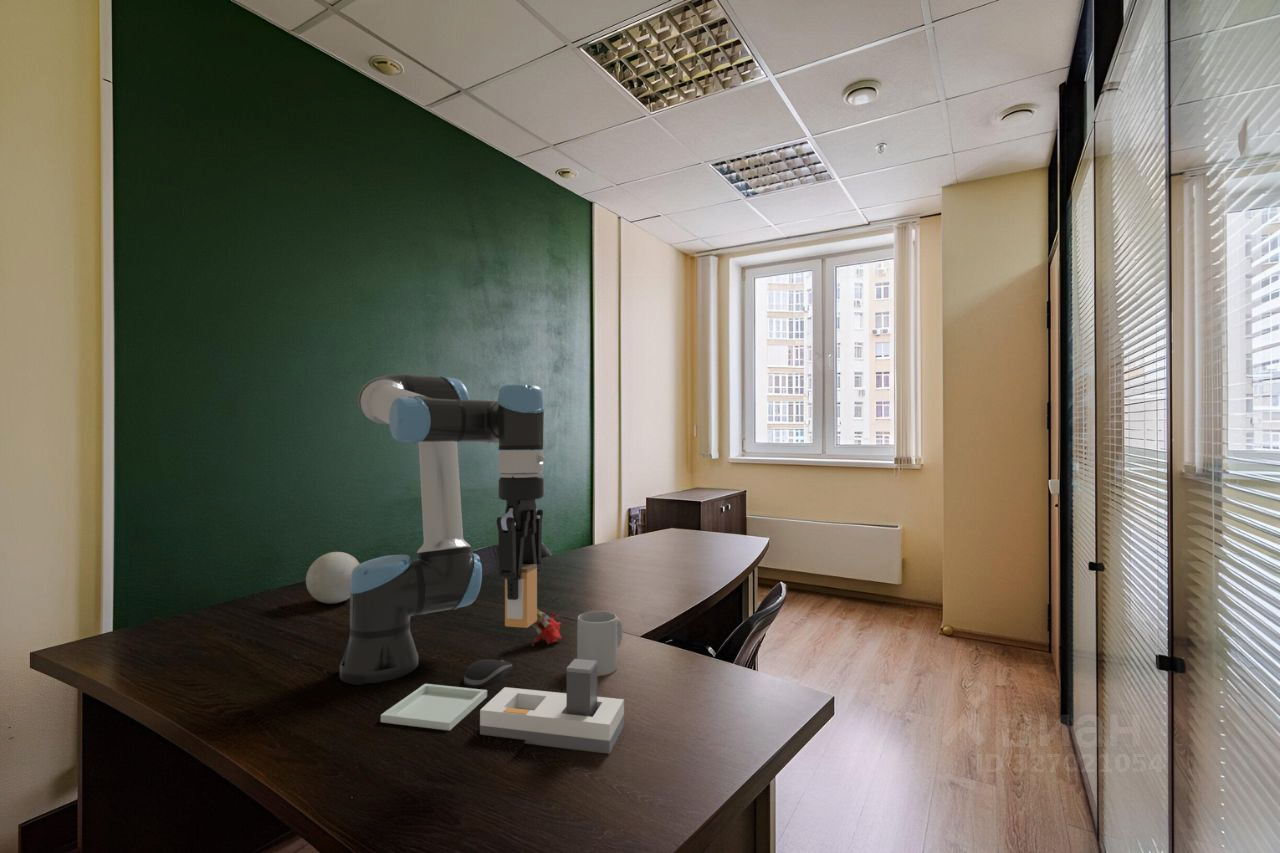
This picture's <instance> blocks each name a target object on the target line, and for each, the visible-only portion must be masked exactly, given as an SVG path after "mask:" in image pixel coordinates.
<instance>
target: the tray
mask: <svg viewBox="0 0 1280 853" xmlns="http://www.w3.org/2000/svg"><path fill="white" fill-rule="evenodd" d="M486 698H488V690H487V689H481V688H480V689H478V688H473V687H460V686H451V685H442V684H433V683H424V684H422V685H421V686H420V687H418V688H417V689H416V690H414V691H413V692H411V693H410V694H409V695H406V697H404V698H403V699H401V700H400V701H398V702H397V703H395V704H394V705H392V706H391V707H389V708H388V709H386V710H385V711H384V712H383V713H381V714H380V723H385V724H393V725H401V726H408V727H415V728H416V727H418V728H425V729H433V730H442V731H451V730H452V729H453V728H454V727H455V726H456V725H458V724H459V723H460V722H461V721H462V720H463V719H464V718H466V717H467V716H468V715H469V714H470V713H471V712H472V711H473V710H474V709H475V708H477V706H478V705H480V704H481V703H483V701H484V700H486Z"/></svg>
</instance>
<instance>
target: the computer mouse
mask: <svg viewBox="0 0 1280 853" xmlns="http://www.w3.org/2000/svg"><path fill="white" fill-rule="evenodd" d="M513 669H514V668H513V663H511V662H509V661H505V660H504V658H503V659H500V660H498V659H489V658H488V659H481V660H476V661H474V662H472V663H471V664H470V665H469V666H468V667H467V669H466V670H465V673H464V676H463V677H464V678H463V685H465V686H467V687H469V688H481V687H486V686H489V685H492V684H494V683H496V682H498V681H500V680H502V679H503V678H504V677H505V676H506V675H507V674H508V673H510V671H511V670H513Z"/></svg>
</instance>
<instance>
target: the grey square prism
mask: <svg viewBox="0 0 1280 853" xmlns="http://www.w3.org/2000/svg"><path fill="white" fill-rule="evenodd" d="M566 693H567V700H566V714H571V715H580V716H589V717H593V716H594V714H595V713H596V711H597V697H598V676H597V661H595V660H583V659H577V658H574V659H573V660H572V661H571V662H570V663H569V665H568V666H567V667H566Z"/></svg>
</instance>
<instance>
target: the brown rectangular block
mask: <svg viewBox="0 0 1280 853" xmlns="http://www.w3.org/2000/svg"><path fill="white" fill-rule="evenodd" d="M537 566H538V565H537V564H522V571H521V578H524V618H523V619H508V618H507V579H504V626H505V627H512V628H526V629H527V628H529V627H530V626H531V625H532V624H533V623H535V622H536V621H537V609H538V571H537Z"/></svg>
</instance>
